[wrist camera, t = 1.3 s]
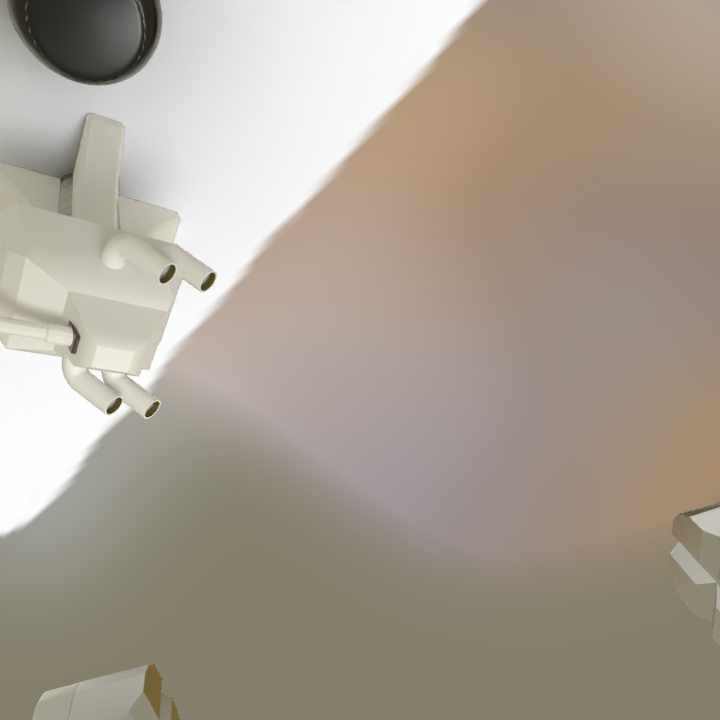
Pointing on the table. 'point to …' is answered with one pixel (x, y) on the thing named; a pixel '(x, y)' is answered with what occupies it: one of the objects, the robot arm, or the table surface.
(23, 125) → the table surface
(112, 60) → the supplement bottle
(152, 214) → the toy gun turret
